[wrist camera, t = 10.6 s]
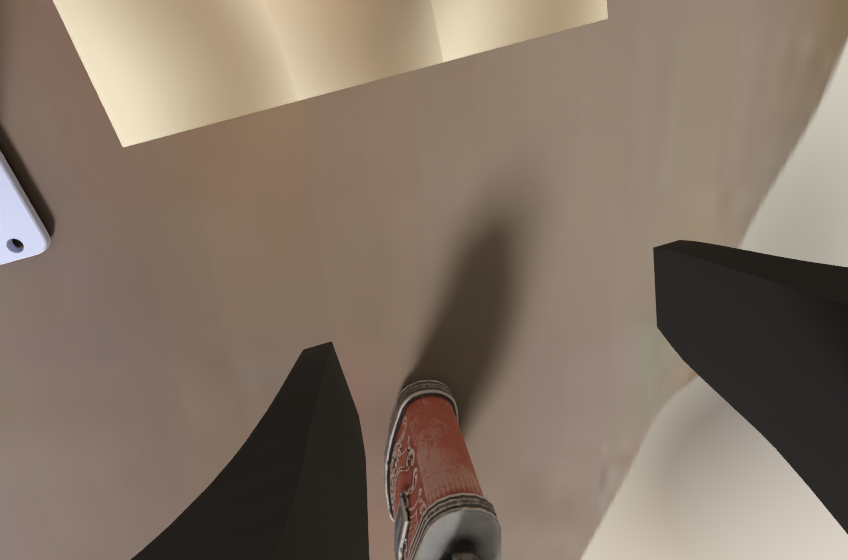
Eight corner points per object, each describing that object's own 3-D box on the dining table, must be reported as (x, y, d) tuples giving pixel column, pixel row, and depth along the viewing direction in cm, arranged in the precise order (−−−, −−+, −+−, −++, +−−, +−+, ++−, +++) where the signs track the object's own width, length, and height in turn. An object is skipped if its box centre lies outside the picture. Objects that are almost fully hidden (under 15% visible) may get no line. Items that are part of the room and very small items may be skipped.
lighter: (390, 380, 24) (431, 584, 15) (464, 379, 25) (544, 574, 16) (378, 515, 28) (405, 749, 19) (443, 511, 28) (501, 735, 19)
